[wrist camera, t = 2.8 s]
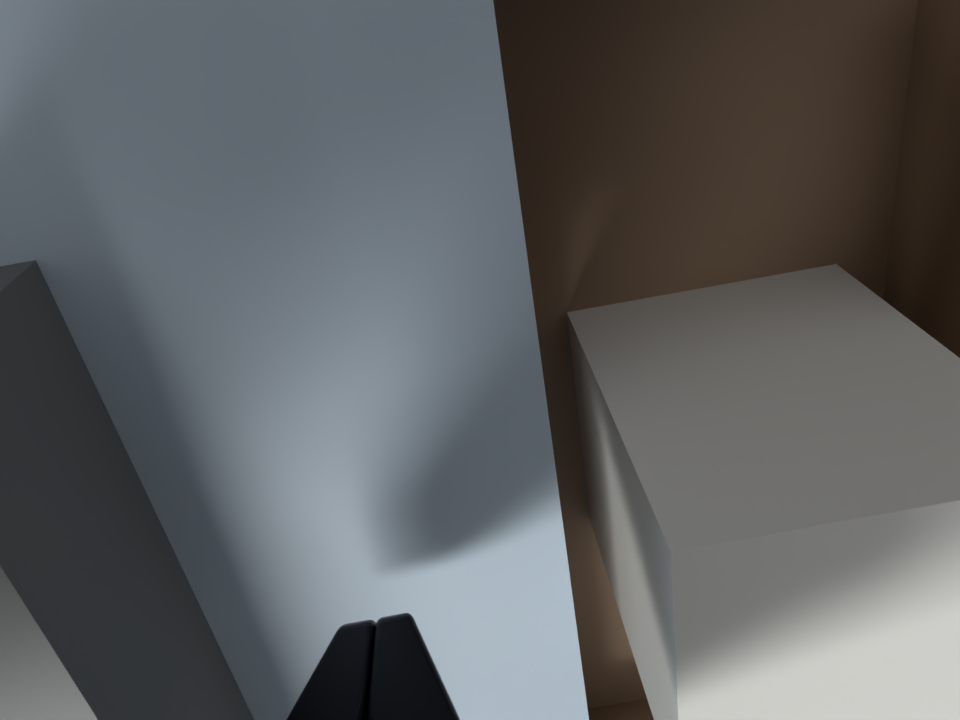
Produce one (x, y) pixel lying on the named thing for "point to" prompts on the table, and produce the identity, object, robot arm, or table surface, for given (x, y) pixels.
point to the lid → (267, 360)
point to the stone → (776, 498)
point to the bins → (721, 188)
